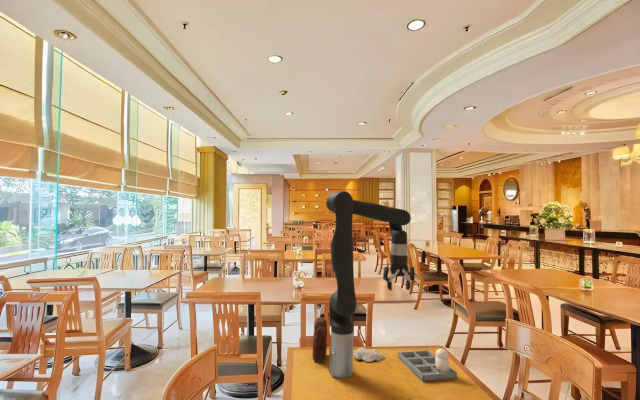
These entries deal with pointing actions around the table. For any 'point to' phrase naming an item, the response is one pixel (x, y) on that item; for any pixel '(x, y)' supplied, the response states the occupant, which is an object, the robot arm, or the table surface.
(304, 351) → the table surface
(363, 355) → the decorative stone
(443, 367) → the cream rounded cylinder
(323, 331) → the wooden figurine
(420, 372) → the grey compartment tray
